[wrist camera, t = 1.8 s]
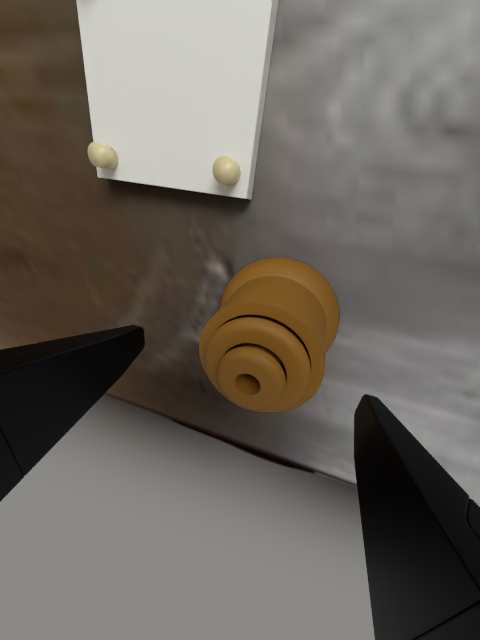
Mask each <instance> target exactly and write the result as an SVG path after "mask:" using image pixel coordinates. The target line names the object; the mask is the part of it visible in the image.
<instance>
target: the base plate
mask: <svg viewBox="0 0 480 640" xmlns="http://www.w3.org/2000/svg"><path fill="white" fill-rule="evenodd" d="M76 1H77V9H78V17H79V26H80V34H81V42H82V50H83V59H84V67H85V75H86V84H87V92H88V100H89V108H90V117H91V125H92V133H93V142H92V143H90V145H89V147H88V156H89V159H90V161H91V163H92V164H93V165H94V166H96V167H97V175H98V177H101V178H107V179H113V180H120V181H127V182H134V183H141V184H148V185H154V186H161V187H168V188H175V189H182V190H189V191H196V192H202V193H209V194H216V195H223V196H230V197H237V198H244V199H250V200H251V198H252V191H253V184H254V176H255V169H256V162H257V155H258V147H259V140H260V133H261V125H262V118H263V111H264V104H265V96H266V89H267V82H268V74H269V67H270V60H271V53H272V45H273V38H274V31H275V24H276V16H277V9H278V2H279V0H76Z"/></svg>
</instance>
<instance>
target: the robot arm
mask: <svg viewBox="0 0 480 640" xmlns="http://www.w3.org/2000/svg"><path fill="white" fill-rule="evenodd" d="M144 345H145V340H144V329H143V328H142V327H139V326H136V325H131V326H126V327H120V328H115V329H110V330H104V331H99V332H94V333H88V334H83V335H78V336H72V337H67V338H62V339H56V340H51V341H46V342H40V343H37V344H29V345H24V346H18V347H13V348H7V349H1V350H0V501H1V500H2V499H3V498H4V497H5V496H6V495H7V494H8V493H9V492H10V491H11V490H12V489H13V488H14V487H15V486H16V485H17V484H18V483H19V482H20V481H21V480H22V479H23V477H24V476H25V475H26V474H27V473H28V472H29V471H30V470H31V469H32V468H33V467H34V466H35V465H36V464H37V463H38V462H39V461H40V460H41V459H42V458H43V457H44V456H45V455H46V454H47V453H48V451H49V450H50V449H51V448H52V447H53V446H54V445H55V444H56V443H57V442H58V441H59V440H60V439H61V438H62V437H63V436H64V435H65V434H66V433H67V432H68V431H69V430H70V428H72V427H73V426H74V425H75V423H77V421H78V420H79V419H80V418H81V417H82V416H83V415H84V414H85V413H86V412H87V411H88V410H89V409H90V408H91V407H92V406H93V405H94V404H95V403H96V402H97V401H98V400H99V399H100V398H101V397H102V396H103V395H104V394H105V393H106V392H107V390H108V389H109V388H110V387H111V386H112V385H113V384H114V383H115V382H116V381H117V380H118V379H119V378H120V377H121V376H122V375H123V373H124V372H125V371H126V370H127V369H128V367H129V366H130V365H131V363H132V362H133V361H134V360H135V358H136V357H137V356H138V355H139V353H140V352H141V351H142V350H143V348H144ZM354 461H355V471H356V479H357V488H358V497H359V504H360V514H361V522H362V530H363V539H364V548H365V557H366V566H367V574H368V583H369V592H370V600H371V609H372V618H373V626H374V635H375V640H480V507H479V506H478V505H477V504H476V503H475V502H474V501H473V500H472V499H469V495H468V494H467V493H466V492H465V491H464V490H463V489H462V488H461V487H460V486H459V485H458V483H457V482H456V481H455V480H454V479H453V478H452V477H451V476H450V475H449V474H448V473H447V472H446V471H445V469H444V468H443V467H442V466H441V465H440V464H439V463H438V462H437V461H436V460H435V459H434V458H433V457H432V455H431V454H430V453H429V452H428V451H427V450H426V449H425V448H424V447H423V446H422V445H421V444H420V443H419V441H418V440H417V439H416V438H415V437H414V436H413V435H412V434H411V433H410V432H409V431H408V430H407V429H406V427H405V426H404V425H403V424H402V423H401V422H400V421H399V420H398V419H397V418H396V417H395V416H394V415H393V414H392V412H391V411H390V410H389V409H388V408H387V407H386V406H385V405H384V404H383V403H382V402H381V401H380V400H379V399H378V398H377V397H374V396H371V395H368V394H365V395H363V397H362V399H361V401H360V403H359V405H358V407H357V409H356V411H355V415H354Z"/></svg>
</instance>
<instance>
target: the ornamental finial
mask: <svg viewBox="0 0 480 640" xmlns="http://www.w3.org/2000/svg"><path fill="white" fill-rule="evenodd" d="M339 321H340V313H339V305H338V301H337V298H336V295H335V293H334V291H333V289H332V287H331V286H330V284H329V283H328V281H327V280H326V279H325V278H324V277H323V276H322V275H321V274H320V273H319V272H318V271H316V270H315V269H314V268H312V267H310V266H309V265H307V264H305V263H303V262H300V261H297V260H294V259H290V258H281V257H274V258H266V259H262V260H258V261H255V262H253V263H251V264H249V265H247V266H246V267H244V268H243V269H241V270H240V271H239V272H238V273H237V274H236V275H235V276H234V277H233V278H232V279H231V280H230V282H229V283H228V285H227V287H226V288H225V290H224V293H223V296H222V299H221V304H220V309H219V310H218V311H217V312H216V313H215V314H214V316H213V317H212V318H211V319H210V320H209V321H208V323H207V324H206V325H205V327H204V329H203V331H202V334H201V337H200V343H199V354H200V360H201V363H202V366H203V369H204V371H205V373H206V375H207V377H208V378H209V380H210V381H211V382H212V384H213V385H214V386H215V387H216V388H217V390H218V391H219V392H220V393H221V394H222V395H223V396H224V397H226V398H227V399H228V400H230V401H231V402H233V403H234V404H236V405H238V406H240V407H243V408H245V409H248V410H252V411H258V412H282V411H287V410H291V409H294V408H296V407H298V406H301V405H302V404H304V403H305V402H307V401H308V400H309V399H310V398H312V396H313V395H314V394H315V393H316V392H317V390H318V388H319V387H320V385H321V382H322V379H323V375H324V367H325V353H326V351H327V350H328V349H329V348H330V346H331V345H332V343H333V341H334V339H335V337H336V334H337V331H338V327H339Z"/></svg>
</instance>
